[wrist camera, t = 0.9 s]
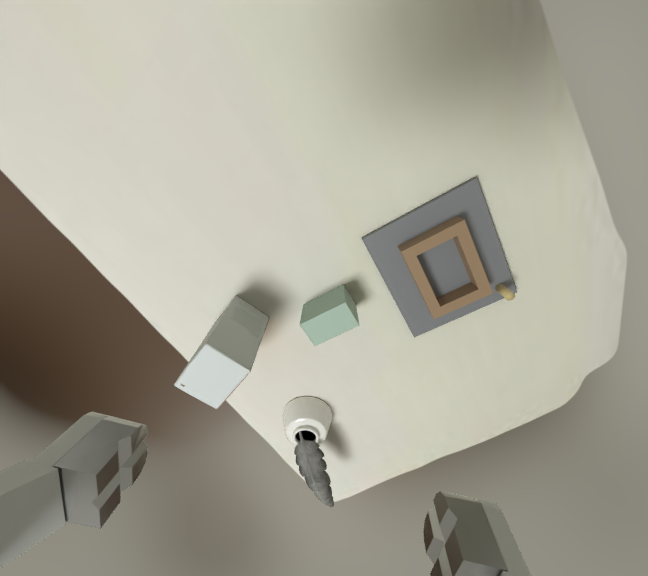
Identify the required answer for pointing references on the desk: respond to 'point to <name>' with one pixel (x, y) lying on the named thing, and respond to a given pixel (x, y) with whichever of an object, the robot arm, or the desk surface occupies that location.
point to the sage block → (329, 315)
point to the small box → (224, 354)
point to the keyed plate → (442, 259)
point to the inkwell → (310, 441)
